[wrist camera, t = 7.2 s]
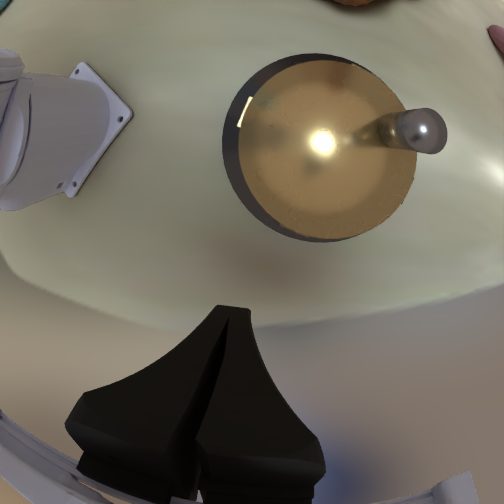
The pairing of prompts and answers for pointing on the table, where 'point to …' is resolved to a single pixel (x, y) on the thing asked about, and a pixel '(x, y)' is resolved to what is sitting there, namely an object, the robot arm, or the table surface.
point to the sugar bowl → (3, 3)
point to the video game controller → (497, 36)
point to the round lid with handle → (332, 148)
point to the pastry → (354, 2)
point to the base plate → (232, 138)
